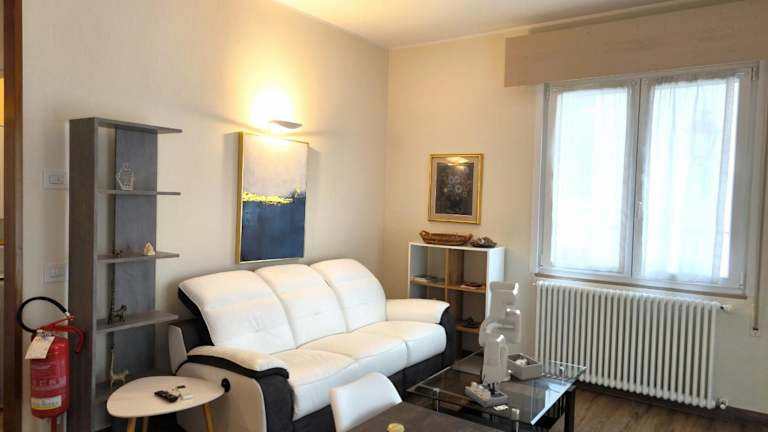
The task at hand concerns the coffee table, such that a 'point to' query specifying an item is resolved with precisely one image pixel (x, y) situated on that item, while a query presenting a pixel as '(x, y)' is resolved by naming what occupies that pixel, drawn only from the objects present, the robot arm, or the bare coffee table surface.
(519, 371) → the grey open bin
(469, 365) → the coffee table surface
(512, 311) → the robot arm
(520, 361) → the camera
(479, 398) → the grey shallow tray
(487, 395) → the tab
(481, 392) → the tab
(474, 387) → the tab
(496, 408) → the label card
